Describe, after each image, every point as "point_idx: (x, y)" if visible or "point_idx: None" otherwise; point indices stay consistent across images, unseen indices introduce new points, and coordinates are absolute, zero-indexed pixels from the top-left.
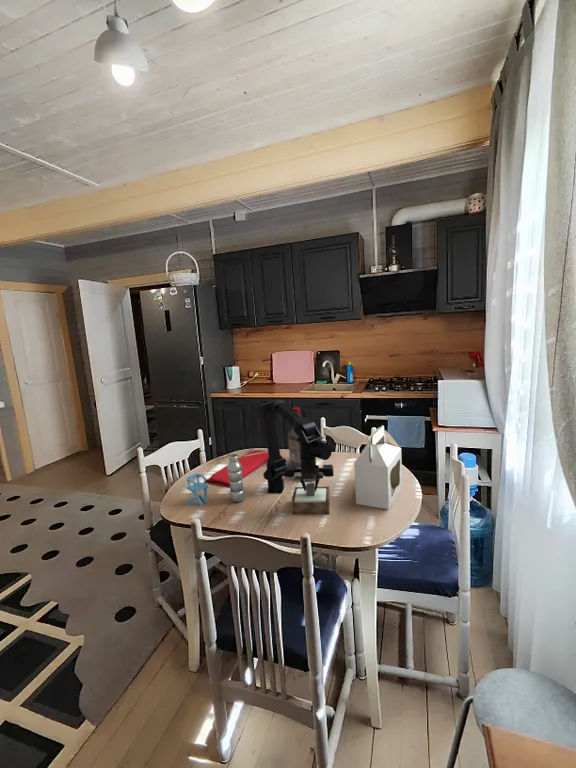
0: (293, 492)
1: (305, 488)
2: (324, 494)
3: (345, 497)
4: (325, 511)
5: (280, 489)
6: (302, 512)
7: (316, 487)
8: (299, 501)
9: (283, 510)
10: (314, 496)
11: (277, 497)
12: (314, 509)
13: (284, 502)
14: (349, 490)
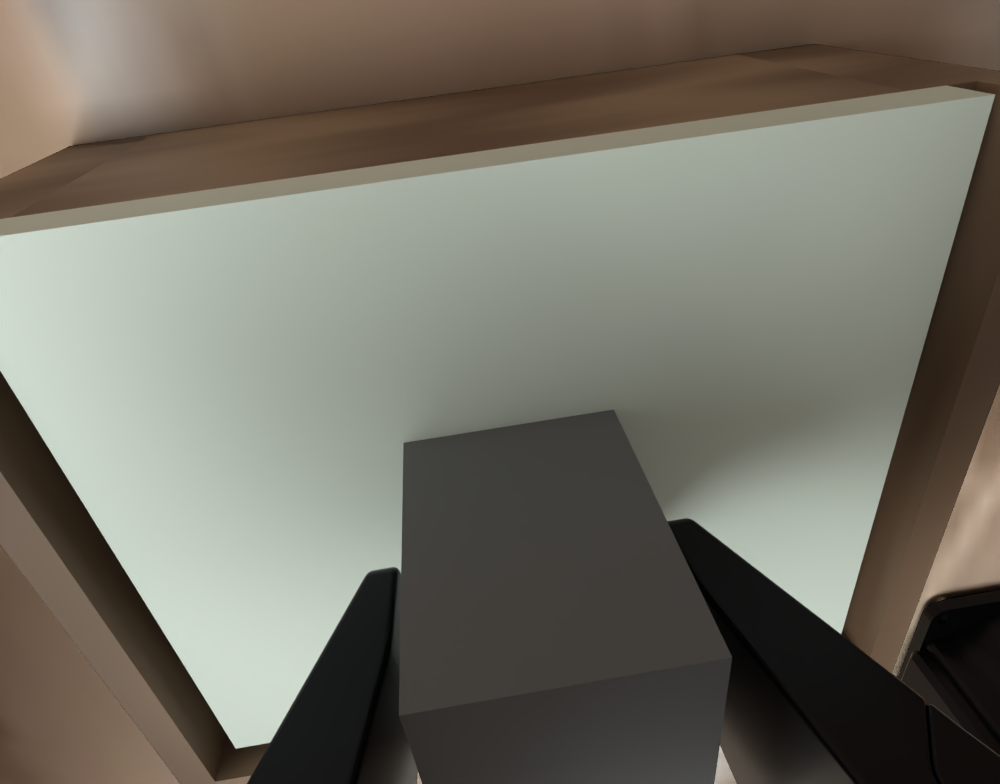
0: (959, 489)
1: (714, 595)
2: (153, 544)
3: (66, 659)
4: (119, 149)
5: (958, 651)
6: (629, 77)
7: (316, 693)
8: (809, 109)
9: None
10: (392, 416)
11: (994, 516)
12: (362, 123)
13: None
14: (99, 781)
